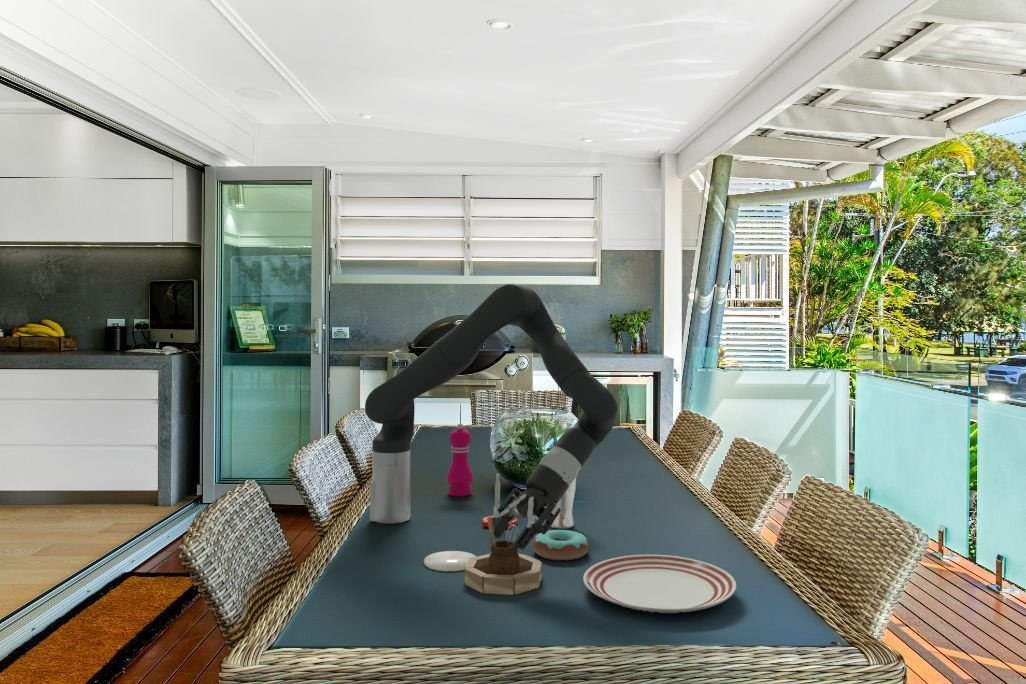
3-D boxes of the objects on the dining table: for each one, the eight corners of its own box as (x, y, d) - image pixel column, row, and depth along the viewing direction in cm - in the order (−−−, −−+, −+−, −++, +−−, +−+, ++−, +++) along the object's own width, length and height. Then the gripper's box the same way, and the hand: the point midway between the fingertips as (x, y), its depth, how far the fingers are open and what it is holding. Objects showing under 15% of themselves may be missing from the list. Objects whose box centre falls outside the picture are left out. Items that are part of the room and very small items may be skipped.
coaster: (418, 570, 150) (418, 567, 150) (430, 552, 161) (430, 550, 161) (473, 572, 149) (473, 569, 149) (481, 554, 160) (481, 552, 160)
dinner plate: (635, 636, 121) (635, 616, 121) (557, 580, 146) (557, 563, 146) (769, 610, 132) (770, 591, 131) (675, 562, 157) (676, 546, 157)
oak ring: (460, 592, 139) (460, 576, 139) (473, 566, 153) (473, 551, 153) (537, 595, 137) (537, 579, 137) (543, 569, 151) (543, 554, 151)
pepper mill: (476, 492, 216) (476, 422, 215) (466, 497, 209) (467, 425, 209) (453, 490, 218) (453, 421, 218) (443, 495, 212) (443, 424, 211)
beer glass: (579, 523, 184) (580, 462, 184) (569, 531, 178) (570, 467, 177) (553, 520, 187) (553, 459, 187) (542, 527, 181) (542, 465, 180)
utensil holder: (514, 587, 141) (514, 524, 141) (482, 583, 143) (482, 521, 143) (523, 577, 147) (524, 516, 146) (493, 573, 149) (493, 513, 148)
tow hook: (486, 519, 190) (478, 527, 180) (487, 467, 190) (479, 473, 181) (519, 521, 188) (513, 529, 179) (520, 469, 188) (514, 475, 179)
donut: (553, 567, 153) (553, 547, 153) (521, 551, 164) (522, 532, 163) (600, 557, 160) (600, 538, 160) (566, 542, 170) (566, 524, 170)
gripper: (523, 457, 155) (474, 521, 149) (565, 469, 143) (514, 539, 137) (544, 479, 158) (497, 543, 152) (587, 493, 146) (538, 562, 141)
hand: (505, 541), depth 145 cm, fingers open, 8 cm apart
